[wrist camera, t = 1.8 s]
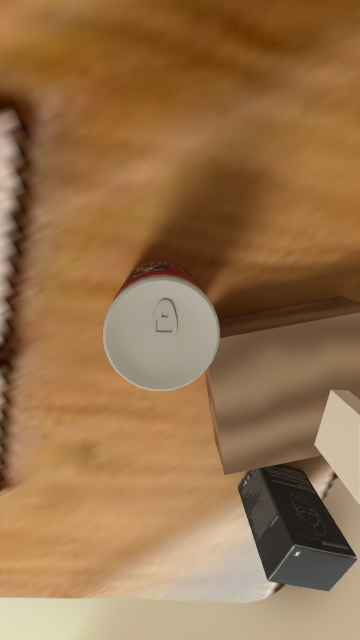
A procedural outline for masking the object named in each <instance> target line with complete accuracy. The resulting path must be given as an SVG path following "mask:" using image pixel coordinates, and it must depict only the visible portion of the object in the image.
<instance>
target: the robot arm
mask: <svg viewBox="0 0 360 640" xmlns="http://www.w3.org/2000/svg"><path fill="white" fill-rule="evenodd" d="M314 445H315V446H316V447H317V449H318V450H319V451H320V453H321V454H322V455H323V457H324V458H325V459H326V461H327V462H328V463H329V465H330V466H331V467H332V469H333V470H334V471H335V473H336V474H337V475H338V477H339V478H340V479H341V481H342V482H343V483H344V485H345V486H346V487H347V489H348V490H349V491H350V492H351V494H352V495H353V497H354V498H355V499H356V501H357V502H358V503H359V505H360V400H359V399H358V398H357V397H356V396H354V395H353V394H352V393H351V392H349V391H348V390H331V391H330V394H329V397H328V401H327V404H326V407H325V411H324V414H323V417H322V421H321V424H320V427H319V431H318V434H317V437H316V441H315V444H314Z"/></svg>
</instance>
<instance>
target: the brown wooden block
mask: <svg viewBox="0 0 360 640" xmlns="http://www.w3.org/2000/svg"><path fill="white" fill-rule="evenodd" d="M218 322H219V327H220V340H219V344H218V349H217V352H216V354H215V357H214V359H213V361H212V362H211V364H210V365H209V367H208V368H207V370H206V371H205V376H206V383H207V389H208V396H209V403H210V409H211V416H212V423H213V429H214V436H215V442H216V446H217V449H218V453H219V456H220V460H221V463H222V467H223V470H224V474H225V475H227V474H232V473H237V472H242V471H247V470H252V469H257V468H262V467H267V466H272V465H277V464H282V463H287V462H292V461H297V460H302V459H307V458H312V457H317V456H322V454H321V453H320V451H319V450H318V449H317V447H316V446H315V445H314V444H315V441H316V437H317V434H318V431H319V427H320V424H321V421H322V417H323V414H324V411H325V407H326V404H327V401H328V397H329V394H330V391H331V390H348V391H349V392H351V393H352V394H353V395H354V396H356V397H357V398H358V399H359V400H360V303H359V302H356V301H353V300H350V299H347V298H344V297H338V298H332V299H327V300H321V301H316V302H310V303H305V304H299V305H294V306H288V307H283V308H277V309H272V310H266V311H261V312H255V313H250V314H244V315H239V316H233V317H228V318H222V319H218Z"/></svg>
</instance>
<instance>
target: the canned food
mask: <svg viewBox="0 0 360 640" xmlns="http://www.w3.org/2000/svg"><path fill="white" fill-rule="evenodd" d="M219 340H220V327H219V322H218V317H217V314H216V312H215V309H214V307H213V304H212V303H211V301H210V300H209V298H208V297H207V295H206V294H205V293H204V291H203V290H202V289H201V288H200V286H199V285H198V284H197V283H196V282H195V280H194V279H193V278H192V277H191V276H190V274H189V273H188V272H187V271H186V270H185V269H184V268H182V267H181V266H179V265H178V264H175V263H173V262H170V261H165V260H154V261H150V262H146V263H144V264H142V265H140V266H139V267H137V268H136V269H135V270H134V271H133V272H132V273H131V274H130V275H129V277H128V278H127V280H126V281H125V283H124V284H123V286H122V287H121V289H120V290H119V292H118V293H117V295H116V296H115V298H114V300H113V302H112V303H111V305H110V307H109V309H108V311H107V314H106V318H105V321H104V328H103V342H104V348H105V351H106V354H107V357H108V359H109V361H110V363H111V364H112V366H113V368H114V369H115V370H116V371H117V372H118V373H119V374H120V376H122V377H123V378H124V379H126V380H127V381H128V382H130V383H132V384H134V385H136V386H138V387H140V388H144V389H147V390H153V391H169V390H174V389H178V388H181V387H183V386H185V385H188V384H190V383H191V382H193V381H194V380H196V379H197V378H199V377H200V376H201V375H202V374H203V373H204V372H205V371H206V370H207V368H208V367H209V365H210V364H211V362H212V361H213V359H214V357H215V354H216V352H217V349H218V344H219Z"/></svg>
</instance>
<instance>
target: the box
mask: <svg viewBox="0 0 360 640" xmlns="http://www.w3.org/2000/svg"><path fill="white" fill-rule="evenodd" d="M238 490H239V493H240V496H241V500H242V503H243V506H244V509H245V512H246V515H247V518H248V521H249V524H250V527H251V531H252V534H253V537H254V540H255V543H256V546H257V549H258V553H259V556H260V559H261V561H262V565H263V568H264V571H265V574H266V577H267V580H268V581H271V582H277V583H283V584H289V585H295V586H300V587H306V588H312V589H318V590H324V591H329V590H330V589H331V588H332V587H333V586H334V585H335V584H336V582H338V580H339V579H340V578H341V577H342V576H343V575H344V573H346V572H347V570H348V569H349V568H350V567H351V566H352V565H353V564H354V563H355V561H356V560H357V557H356V555H355V553H354V552H353V550H352V549H351V547H350V546H349V544H348V542H347V541H346V539H345V537H344V536H343V534H342V533H341V531H340V529H339V528H338V526H337V525H336V523H335V521H334V520H333V518H332V516H331V515H330V513H329V512H328V510H327V509H326V507H325V505H324V504H323V502H322V500H321V499H320V497H319V496H318V494H317V492H316V491H315V489H314V487H313V486H312V484H311V483H310V481H309V479H308V478H307V476H306V474H305V473H304V472H303V471H301V470H297V469H293V468H290V467H286V466H282V465H279V464H277V465H272V466H267V467H262V468H257V469H252V470H248V471H247V473H246V474H245V476H244V478H243V479H242V481H241V482H240V484H239V485H238Z"/></svg>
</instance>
